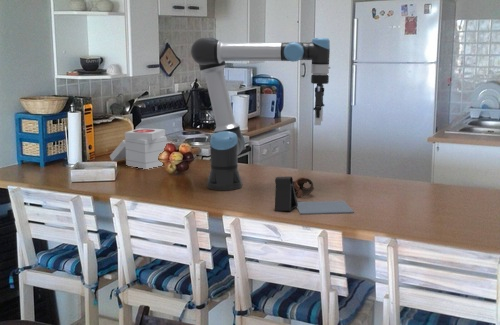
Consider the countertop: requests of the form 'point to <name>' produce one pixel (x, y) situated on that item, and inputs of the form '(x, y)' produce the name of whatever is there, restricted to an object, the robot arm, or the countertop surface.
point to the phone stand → (285, 194)
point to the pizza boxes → (141, 148)
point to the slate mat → (323, 207)
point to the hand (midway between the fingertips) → (318, 123)
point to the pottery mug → (300, 189)
